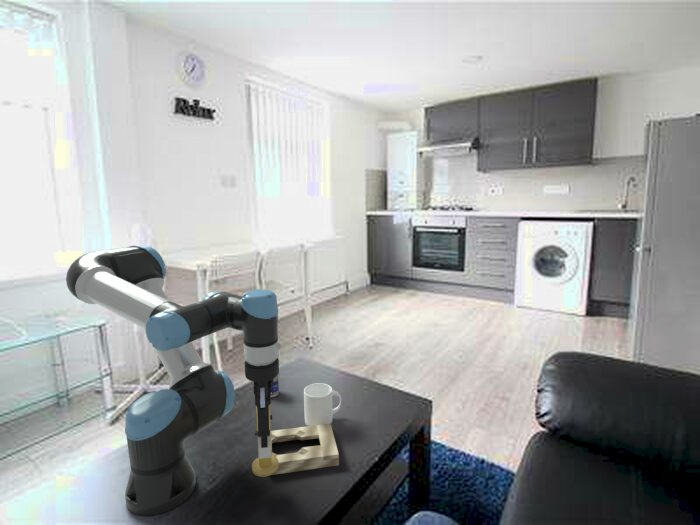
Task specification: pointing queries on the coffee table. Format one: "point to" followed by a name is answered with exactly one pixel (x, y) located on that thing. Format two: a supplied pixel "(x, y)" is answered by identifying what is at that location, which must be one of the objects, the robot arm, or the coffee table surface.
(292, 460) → the keyhole board
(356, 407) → the coffee table surface
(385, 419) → the coffee table surface
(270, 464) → the headed peg
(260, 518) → the coffee table surface
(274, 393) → the pill bottle
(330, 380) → the coffee table surface
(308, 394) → the mug
